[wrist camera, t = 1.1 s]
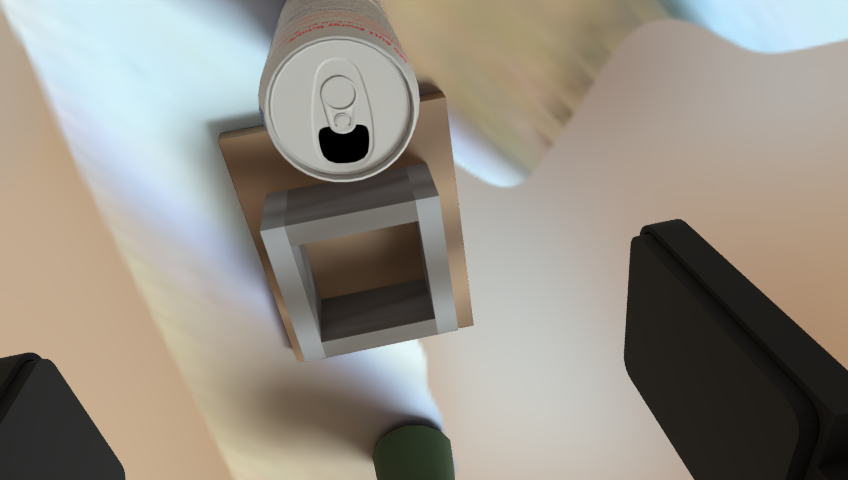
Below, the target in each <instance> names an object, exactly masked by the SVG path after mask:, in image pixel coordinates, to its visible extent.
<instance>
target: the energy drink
mask: <svg viewBox="0 0 848 480" xmlns="http://www.w3.org/2000/svg"><path fill="white" fill-rule="evenodd" d="M258 97H259V110H260V114H261V118H262V121H263V125H264V127H265V129H266V131H267V133H268V135H269V137H270V139H271V140H272V142H273V144H274V146H275V147H276V148H277V150H278V151H279V152H280V153H281V155H282V156H283V157H284V158H285V159H286V160H287V161H288V162H289V163H291V164H292V165H293V166H294V167H295V168H297V169H299V170H300V171H302V172H304V173H306V174H307V175H310V176H313V177H315V178H318V179H321V180H326V181H332V182H351V181H357V180H363V179H365V178H368V177H371V176H373V175H376V174H378V173H379V172H381V171H383V170H384V169H386V168H388V167H389V166H390V165H391V164H392V163H393V162H394V161H396V160H397V159H398V157H399V156H400V155H401V154H402V152H403V151H404V150H405V149H406V147H407V145H408V143H409V141H410V139H411V137H412V134H413V131H414V129H415V125H416V122H417V118H418V115H419V103H420V98H419V90H418V83H417V80H416V77H415V74H414V71H413V69H412V67H411V65H410V63H409V61H408V59H407V57H406V55H405V53H404V50H403V48H402V46H401V44H400V42H399V40H398V38H397V36H396V34H395V32H394V30H393V28H392V26H391V24H390V22H389V20H388V18H387V16H386V14H385V12H384V10H383V8H382V6H381V4H380V3H379V1H378V0H286V2H285V3H284V5H283V8H282V11H281V14H280V17H279V20H278V23H277V27H276V30H275V33H274V36H273V40H272V43H271V46H270V50H269V53H268V56H267V60H266V63H265V66H264V69H263V73H262V76H261V79H260V87H259V94H258Z"/></svg>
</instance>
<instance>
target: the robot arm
mask: <svg viewBox="0 0 848 480" xmlns="http://www.w3.org/2000/svg"><path fill="white" fill-rule="evenodd" d="M624 347H625V348H624V362H625V366H626V370H627V372H628V375H629V377H630V378H631V380H632V382H633V383H634V385H635V386H636V388H637V390H638V391H639V392H640V395H641V396H642V398H643V399H644V401H645V402H646V404H647V406H648V407H649V409H650V410H651V412H652V413H653V415H654V417H655V418H656V420H657V421H658V423H659V425H660V426H661V428H662V429H663V431H664V432H665V434H666V436H667V437H668V439H669V440H670V442H671V444H672V445H673V447H674V448H675V450H676V451H677V453H678V455H679V456H680V458H681V459H682V461H683V463H684V464H685V466H686V467H687V469H688V470H689V472H690V474H691V475H692V477H693V478H694V480H848V370H847V369H845V368H844V367H843V366H842V365H841V364H840V363H839V362H838V361H837V360H836V359H834V358H833V357H832V356H831V355H830V354H829V353H828V352H827V351H826V350H825V349H824V348H822V347H821V346H820V345H819V344H818V343H817V342H816V341H815V340H814V339H812V337H810V336H809V335H808V334H807V333H806V332H805V331H804V330H803V329H802V328H801V327H799V326H798V325H797V324H796V323H795V322H794V321H793V320H792V319H791V318H790V317H788V316H787V315H786V314H785V313H784V312H783V311H782V310H781V309H780V308H779V307H778V306H777V305H775V304H774V303H773V302H772V301H771V300H770V299H769V298H768V297H767V296H765V295H764V294H763V293H762V292H761V291H760V290H759V289H758V288H757V287H756V286H754V284H752V283H751V282H750V281H749V280H748V279H747V278H746V277H745V276H744V275H743V274H742V273H740V272H739V271H738V270H737V269H736V268H735V267H734V266H733V265H732V264H730V263H729V262H728V261H727V260H726V259H725V258H724V257H723V256H722V255H721V254H719V252H717V251H716V250H715V249H714V248H713V247H712V246H711V245H710V244H709V243H708V242H706V241H705V240H704V239H703V238H702V237H701V236H700V235H699V234H698V233H697V232H696V231H694V230H693V229H692V228H691V227H690V226H689V225H688V224H687V223H686V222H684V221H683V220H681V219H675V220H670V221H665V222H660V223H655V224H651V225H646V226H644V227H643V228H642V229H641V232H640V236H636V237H634V238H633V239H632V241H631V248H630V264H629V281H628V297H627V313H626V332H625V346H624ZM0 480H125V472H124V469H123V466H122V465H121V463H120V461H119V460H118V458H117V457H116V455H115V454H114V452H113V451H112V449H111V448H110V446H109V445H108V443H107V442H106V440H105V439H104V437H103V436H102V435H101V433H100V432H99V430H98V429H97V427H96V426H95V424H94V423H93V421H92V420H91V418H90V417H89V415H88V414H87V412H86V411H85V409H84V408H83V406H82V405H81V403H80V402H79V400H78V399H77V397H76V396H75V394H74V393H73V392H72V390H71V388H70V387H69V385H68V384H67V383H66V381H65V379H64V378H63V376H62V375H61V373H60V372H59V370H58V369H57V367H56V366H55V364H54V363H53V362H52V361H50V360H48V359H42V358H41V357H40V356H39V355H37V354H35V353H24V354H18V355H14V356H9V357H4V358H0Z"/></svg>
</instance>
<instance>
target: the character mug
mask: <svg viewBox="0 0 848 480" xmlns="http://www.w3.org/2000/svg"><path fill="white" fill-rule="evenodd" d="M373 462H374V466H375V471H376V476H377V480H455V475H454V465H453V457H452V450H451V443H450V440H449V439H448V438H447V437H446V436H445V435H444V434H443V433H442V432H441V431H439V430H436V429H433V428H430V427H428V426H425V425H406V426H403V427H401V428H398V429H396V430H393V431H390V432H389V433H388V434H387V435H386V436H385V437H384V438H382V439H381V440H380V441H379V442H378V443H377V446H376V449H375V451H374V454H373Z"/></svg>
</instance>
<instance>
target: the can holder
mask: <svg viewBox="0 0 848 480" xmlns="http://www.w3.org/2000/svg"><path fill="white" fill-rule="evenodd" d="M419 98H420V103H419V115H418V118H417V122H416V125H415V129H414V131H413V134H412V137H411V139H410V141H409V143H408V145H407V147H406V149H405V150H404V151H403V152H402V154H401V155H400V156H399V157H398V159H397V160H396V161H394V162H393V163H392V164H391V165H390V166H389V167H388V168H386V169H384V170H383V171H381V172H379V173H378V174H376V175H373V176H371V177H368V178H365V179H363V180H357V181H351V182H332V181H326V180H321V179H318V178H315V177H313V176H310V175H307V174H306V173H304V172H302V171H300V170H299V169H297V168H295V167H294V166H293V165H292V164H291V163H289V162H288V161H287V160H286V159H285V158H284V157H283V156H282V155H281V153H280V152H279V151H278V150H277V148H276V147H275V146H274V144H273V142H272V140H271V139H270V137H269V135H268V133H267V131H266V129H265V127H264V125H262V126H257V127H251V128H246V129H241V130H235V131H230V132H225V133H221V134H220V136H219V139H218V142H219V145H220V148H221V151H222V154H223V156H224V159H225V162H226V165H227V167H228V170H229V173H230V176H231V178H232V181H233V184H234V187H235V190H236V192H237V195H238V198H239V201H240V203H241V206H242V209H243V212H244V215H245V217H246V220H247V223H248V226H249V228H250V231H251V234H252V237H253V240H254V242H255V245H256V248H257V251H258V253H259V256H260V259H261V262H262V265H263V267H264V270H265V273H266V276H267V278H268V281H269V284H270V287H271V289H272V292H273V295H274V298H275V301H276V303H277V306H278V309H279V312H280V314H281V317H282V320H283V323H284V326H285V328H286V331H287V334H288V337H289V339H290V342H291V345H292V348H293V351H294V353H295V356H296V359H297V362H302V361H305V362H309V361H314V360H319V359H324V358H328V357H333V356H338V355H342V354H347V353H352V352H357V351H361V350H366V349H371V348H376V347H380V346H385V345H390V344H395V343H399V342H404V341H409V340H413V339H418V338H423V337H428V336H432V335H437V334H442V333H447V332H451V331H456V330H458V328H463V327H468V326H472V325H473V317H472V309H471V300H470V292H469V285H468V276H467V268H466V260H465V252H464V243H463V235H462V228H461V219H460V211H459V203H458V195H457V186H456V178H455V170H454V162H453V154H452V146H451V138H450V129H449V121H448V113H447V105H446V97H445V95H444V94H443V92H437V93H431V94H426V95H421V96H419Z"/></svg>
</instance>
